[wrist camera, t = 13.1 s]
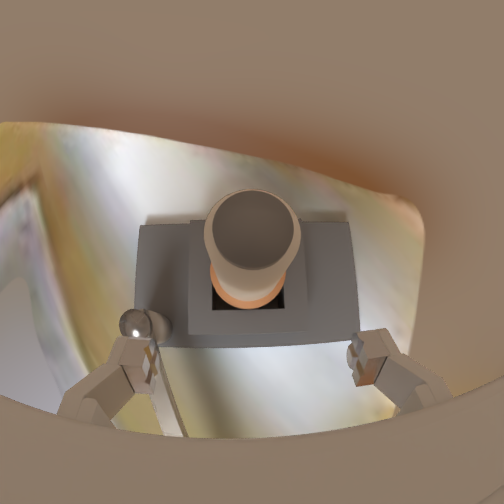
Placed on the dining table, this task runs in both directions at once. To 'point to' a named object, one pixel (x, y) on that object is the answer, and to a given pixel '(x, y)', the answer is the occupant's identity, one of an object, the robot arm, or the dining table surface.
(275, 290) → the plug
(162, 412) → the ball-tipped lever
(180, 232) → the socket block
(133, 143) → the dining table surface
